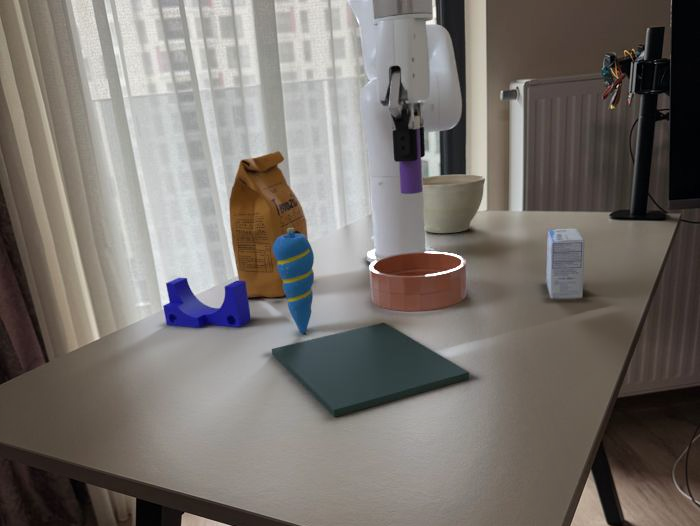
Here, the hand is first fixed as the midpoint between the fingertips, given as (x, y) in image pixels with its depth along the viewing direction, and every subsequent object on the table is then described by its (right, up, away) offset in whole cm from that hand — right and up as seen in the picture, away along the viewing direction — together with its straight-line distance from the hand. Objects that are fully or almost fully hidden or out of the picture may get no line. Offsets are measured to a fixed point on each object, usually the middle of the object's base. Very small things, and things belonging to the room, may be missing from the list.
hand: (409, 157), depth 89 cm
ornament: (-15, -24, -1) cm, 28 cm away
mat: (-7, -28, -13) cm, 32 cm away
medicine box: (+23, -18, +6) cm, 30 cm away
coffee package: (-20, -17, +20) cm, 33 cm away
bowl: (+2, -19, +9) cm, 21 cm away
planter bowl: (+13, 0, +53) cm, 55 cm away
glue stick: (0, -4, +2) cm, 5 cm away
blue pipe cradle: (-29, -23, +7) cm, 37 cm away
